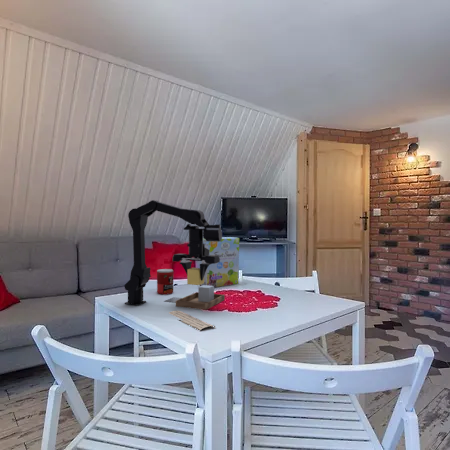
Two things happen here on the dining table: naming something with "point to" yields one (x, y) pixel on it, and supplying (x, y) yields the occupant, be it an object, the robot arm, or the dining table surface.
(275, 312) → the dining table surface
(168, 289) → the canned food
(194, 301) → the walnut tray
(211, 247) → the snack box
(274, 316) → the dining table surface
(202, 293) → the grey-blue block
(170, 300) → the slate pad
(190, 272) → the mustard block
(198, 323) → the tan flat ridged strip
